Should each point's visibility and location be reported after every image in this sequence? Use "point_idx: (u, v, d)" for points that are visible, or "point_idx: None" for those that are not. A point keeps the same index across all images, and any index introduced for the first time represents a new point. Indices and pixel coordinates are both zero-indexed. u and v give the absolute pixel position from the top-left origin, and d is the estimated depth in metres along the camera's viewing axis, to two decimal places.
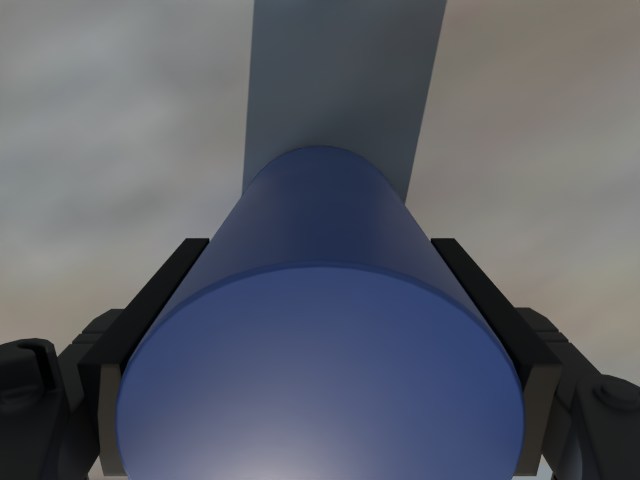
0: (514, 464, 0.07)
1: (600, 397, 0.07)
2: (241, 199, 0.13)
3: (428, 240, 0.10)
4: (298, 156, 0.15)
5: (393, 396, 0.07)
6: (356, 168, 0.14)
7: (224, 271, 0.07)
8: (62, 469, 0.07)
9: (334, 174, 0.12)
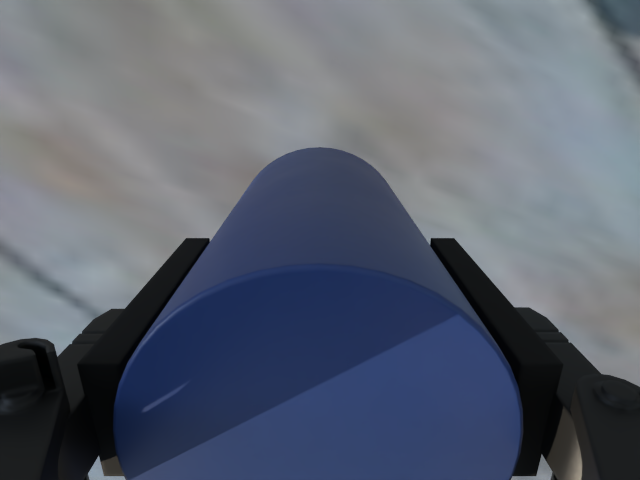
0: (512, 467, 0.08)
1: (600, 397, 0.07)
2: (240, 201, 0.13)
3: (426, 242, 0.10)
4: (297, 158, 0.16)
5: (390, 400, 0.07)
6: (355, 170, 0.14)
7: (222, 274, 0.07)
8: (62, 469, 0.07)
9: (333, 176, 0.12)
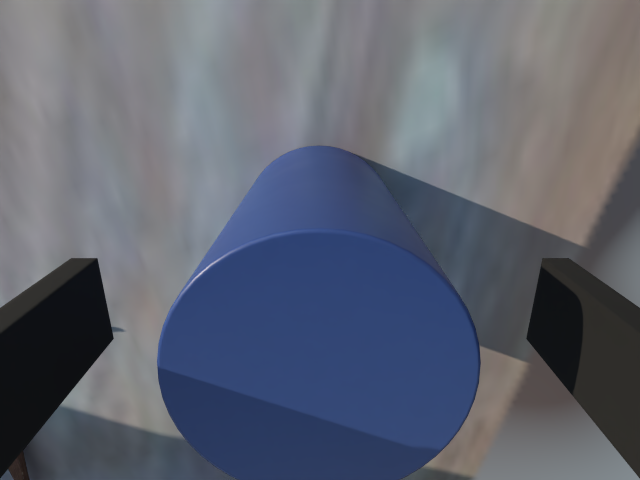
0: (472, 395, 0.09)
1: None
2: (250, 191, 0.15)
3: (410, 223, 0.12)
4: (300, 154, 0.17)
5: (375, 337, 0.09)
6: (350, 164, 0.16)
7: (245, 238, 0.09)
8: None
9: (331, 169, 0.14)
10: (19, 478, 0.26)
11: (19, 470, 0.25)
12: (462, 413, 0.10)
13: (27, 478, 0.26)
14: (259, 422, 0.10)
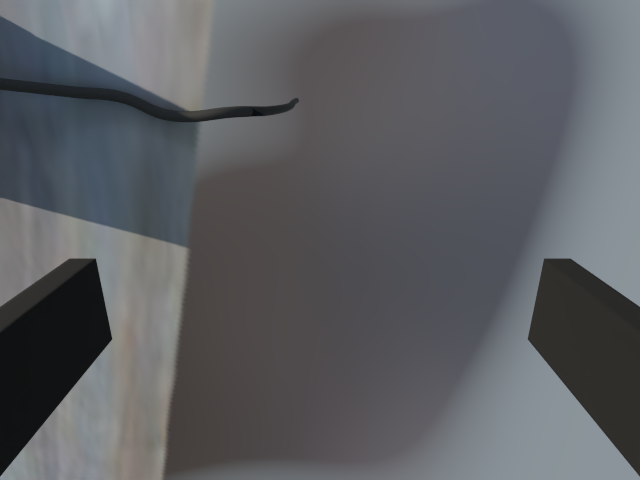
0: None
1: None
2: None
3: None
4: None
5: None
6: None
7: None
8: None
9: None
10: None
11: None
12: None
13: None
14: None
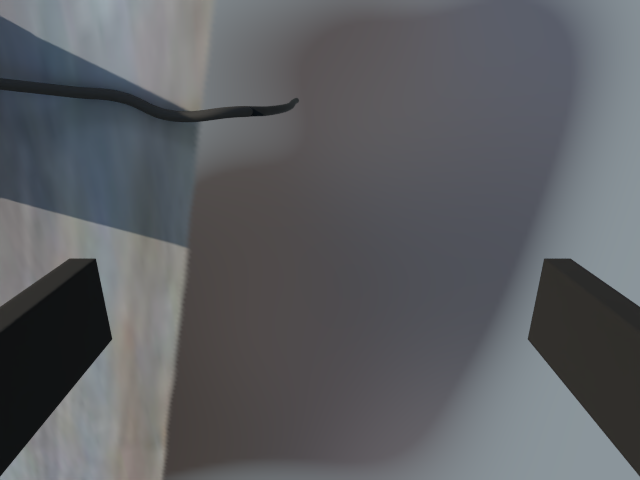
0: None
1: None
2: None
3: None
4: None
5: None
6: None
7: None
8: None
9: None
10: None
11: None
12: None
13: None
14: None
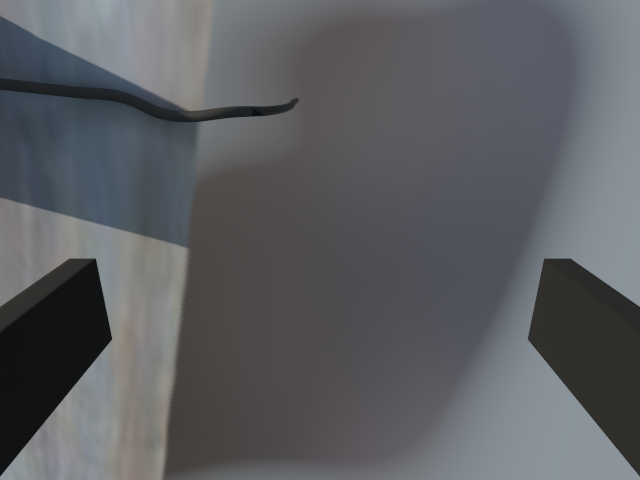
0: None
1: None
2: None
3: None
4: None
5: None
6: None
7: None
8: None
9: None
10: None
11: None
12: None
13: None
14: None
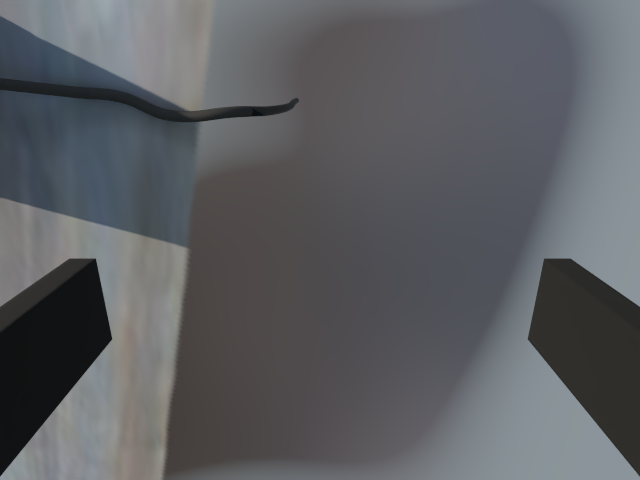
0: None
1: None
2: None
3: None
4: None
5: None
6: None
7: None
8: None
9: None
10: None
11: None
12: None
13: None
14: None
